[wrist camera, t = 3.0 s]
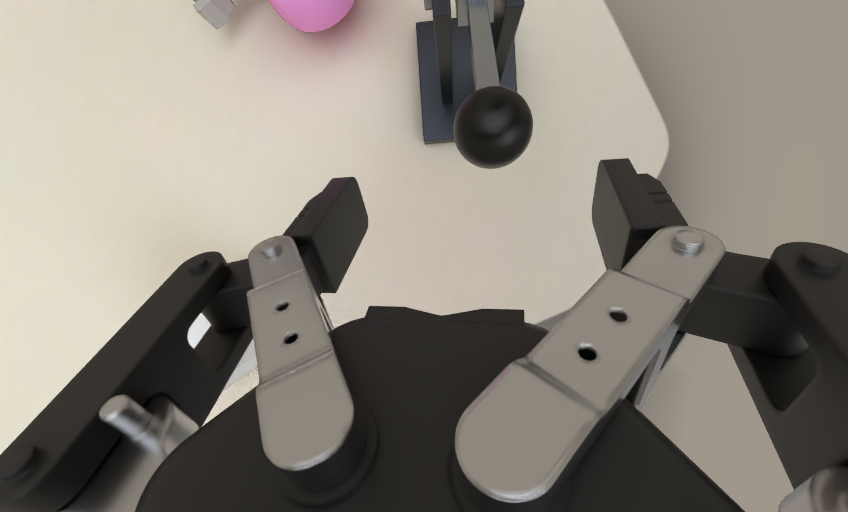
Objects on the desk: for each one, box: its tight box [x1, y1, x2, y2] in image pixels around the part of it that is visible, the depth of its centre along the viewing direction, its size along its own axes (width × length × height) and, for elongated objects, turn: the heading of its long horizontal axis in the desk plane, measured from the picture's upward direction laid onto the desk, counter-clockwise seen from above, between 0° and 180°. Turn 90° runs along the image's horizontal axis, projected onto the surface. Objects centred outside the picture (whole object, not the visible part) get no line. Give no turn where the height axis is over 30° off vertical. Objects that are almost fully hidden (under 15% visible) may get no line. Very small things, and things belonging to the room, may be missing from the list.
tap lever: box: [453, 0, 533, 169], centre depth 19 cm, size 14×4×4 cm, turn 4°
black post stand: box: [416, 0, 524, 144], centre depth 28 cm, size 11×9×16 cm
